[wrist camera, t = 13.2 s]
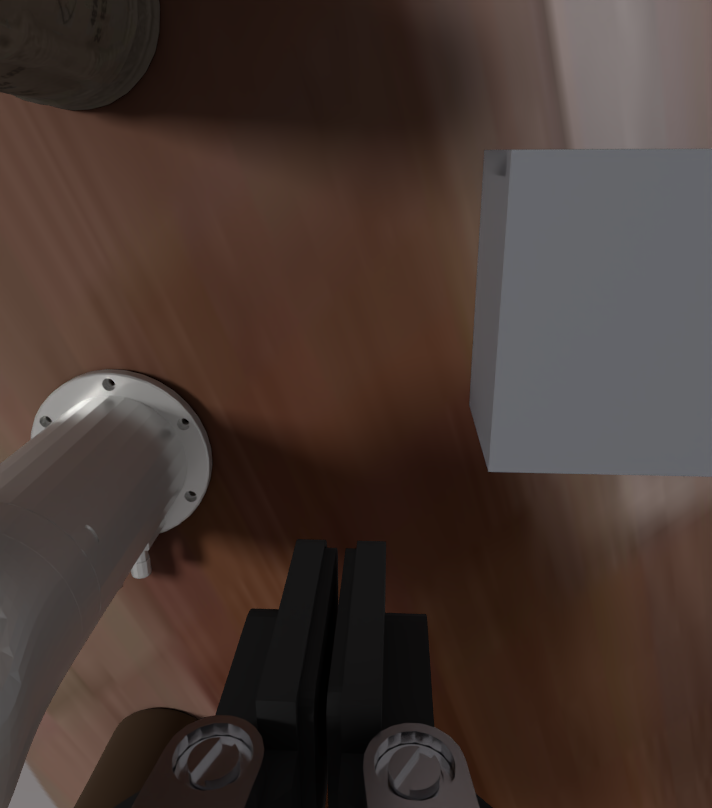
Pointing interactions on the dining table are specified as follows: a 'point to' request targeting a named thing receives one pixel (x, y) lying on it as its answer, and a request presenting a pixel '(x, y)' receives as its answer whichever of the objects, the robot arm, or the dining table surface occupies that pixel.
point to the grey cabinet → (594, 312)
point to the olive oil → (131, 756)
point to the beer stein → (75, 49)
